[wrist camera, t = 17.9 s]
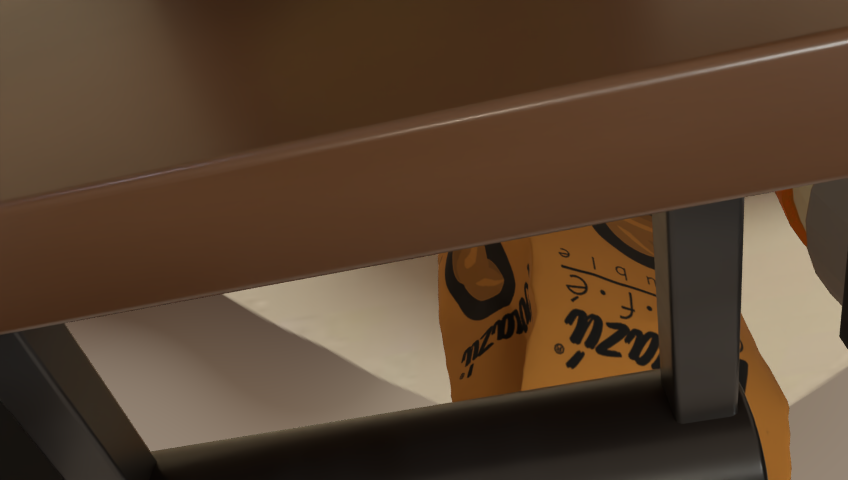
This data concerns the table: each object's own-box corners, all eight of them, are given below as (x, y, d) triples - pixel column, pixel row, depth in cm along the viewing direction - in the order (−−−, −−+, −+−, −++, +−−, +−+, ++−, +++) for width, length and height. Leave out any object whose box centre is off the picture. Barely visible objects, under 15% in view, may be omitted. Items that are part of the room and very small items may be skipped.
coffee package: (508, 84, 37) (596, 441, 19) (706, 198, 41) (940, 590, 23) (403, 235, 42) (394, 637, 24) (589, 326, 46) (705, 735, 27)
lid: (-952, 400, 5) (-179, 813, 9) (1822, -169, 3) (1194, 656, 8) (68, -163, 20) (182, 93, 25) (659, -317, 19) (669, -12, 23)
